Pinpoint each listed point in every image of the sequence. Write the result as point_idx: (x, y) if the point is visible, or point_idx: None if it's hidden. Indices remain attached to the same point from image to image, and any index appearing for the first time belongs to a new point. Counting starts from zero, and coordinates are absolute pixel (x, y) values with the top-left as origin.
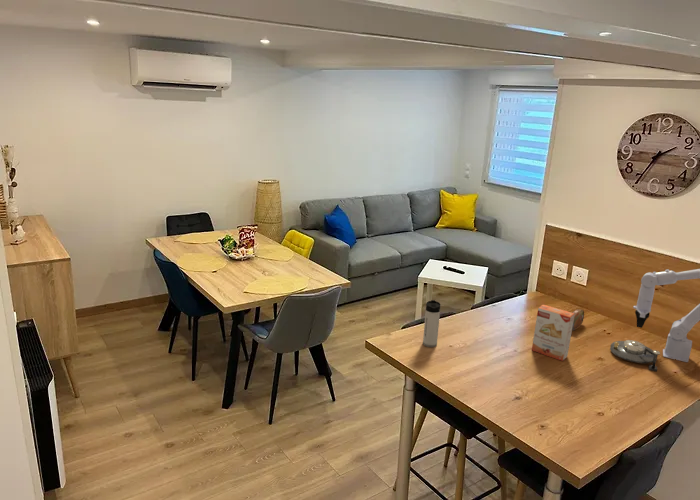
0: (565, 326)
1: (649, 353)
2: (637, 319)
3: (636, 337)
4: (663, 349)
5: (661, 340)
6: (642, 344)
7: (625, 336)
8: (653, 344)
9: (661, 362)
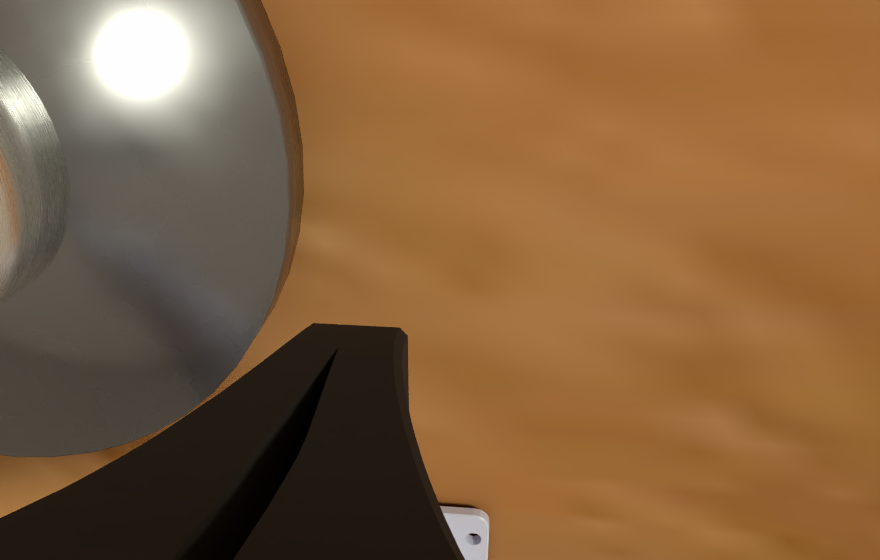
0: None
1: (1, 380)
2: (86, 498)
3: (829, 201)
4: (467, 520)
5: (848, 520)
6: None
7: (799, 3)
8: (633, 420)
9: (80, 459)
